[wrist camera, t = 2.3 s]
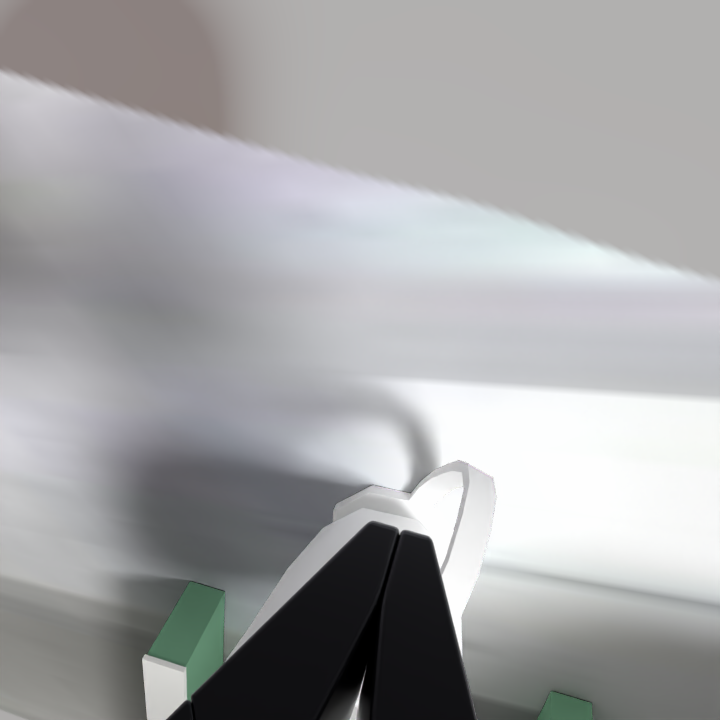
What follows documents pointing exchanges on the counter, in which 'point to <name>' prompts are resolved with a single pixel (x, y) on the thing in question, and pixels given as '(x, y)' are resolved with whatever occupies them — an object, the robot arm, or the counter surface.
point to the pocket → (205, 655)
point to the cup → (406, 512)
